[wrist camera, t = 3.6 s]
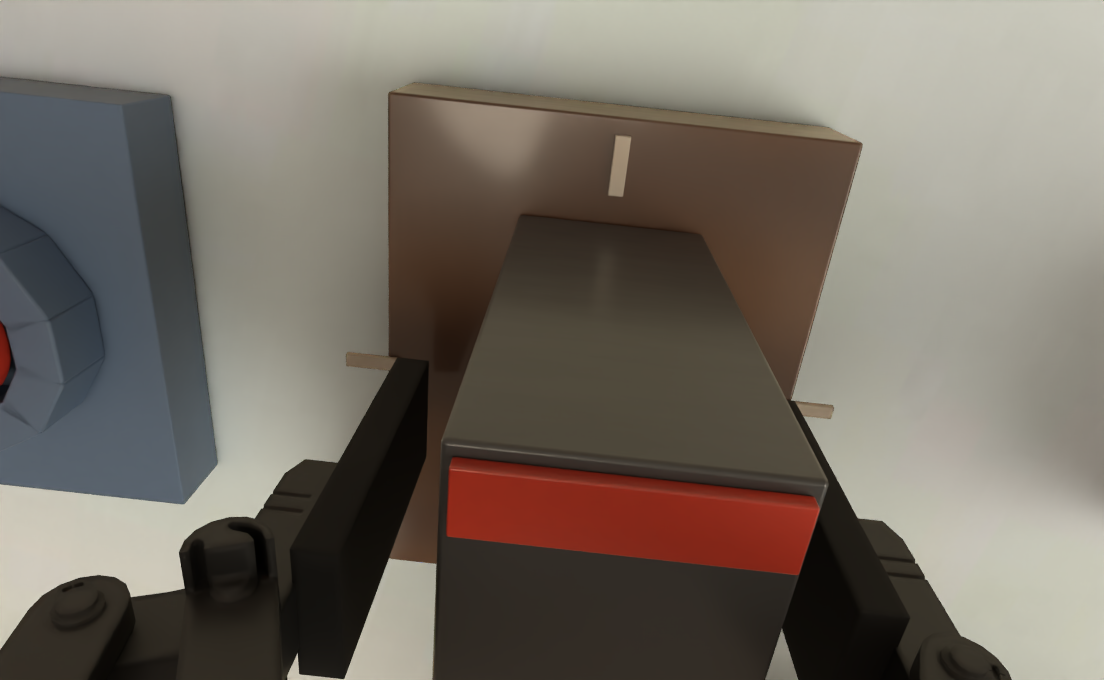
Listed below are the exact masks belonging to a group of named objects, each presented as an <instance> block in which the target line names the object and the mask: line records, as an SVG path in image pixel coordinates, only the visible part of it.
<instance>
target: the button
mask: <svg viewBox="0 0 1104 680" xmlns="http://www.w3.org/2000/svg"><path fill="white" fill-rule="evenodd" d="M10 364H11V349H10V344H9V340H8V337H7V334H6V331H5V329H4V327H3V325H2V323H1V321H0V386H1V385H2V384H3V382H4V380H5V379H6V377H7V375H8V372H9V369H10Z"/></svg>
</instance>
